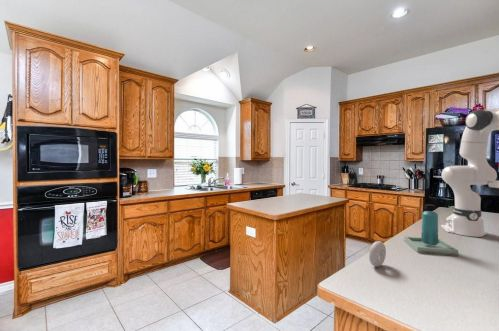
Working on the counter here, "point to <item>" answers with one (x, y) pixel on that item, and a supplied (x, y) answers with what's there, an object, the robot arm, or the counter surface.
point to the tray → (430, 247)
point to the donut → (377, 253)
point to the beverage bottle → (430, 226)
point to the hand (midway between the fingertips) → (487, 183)
